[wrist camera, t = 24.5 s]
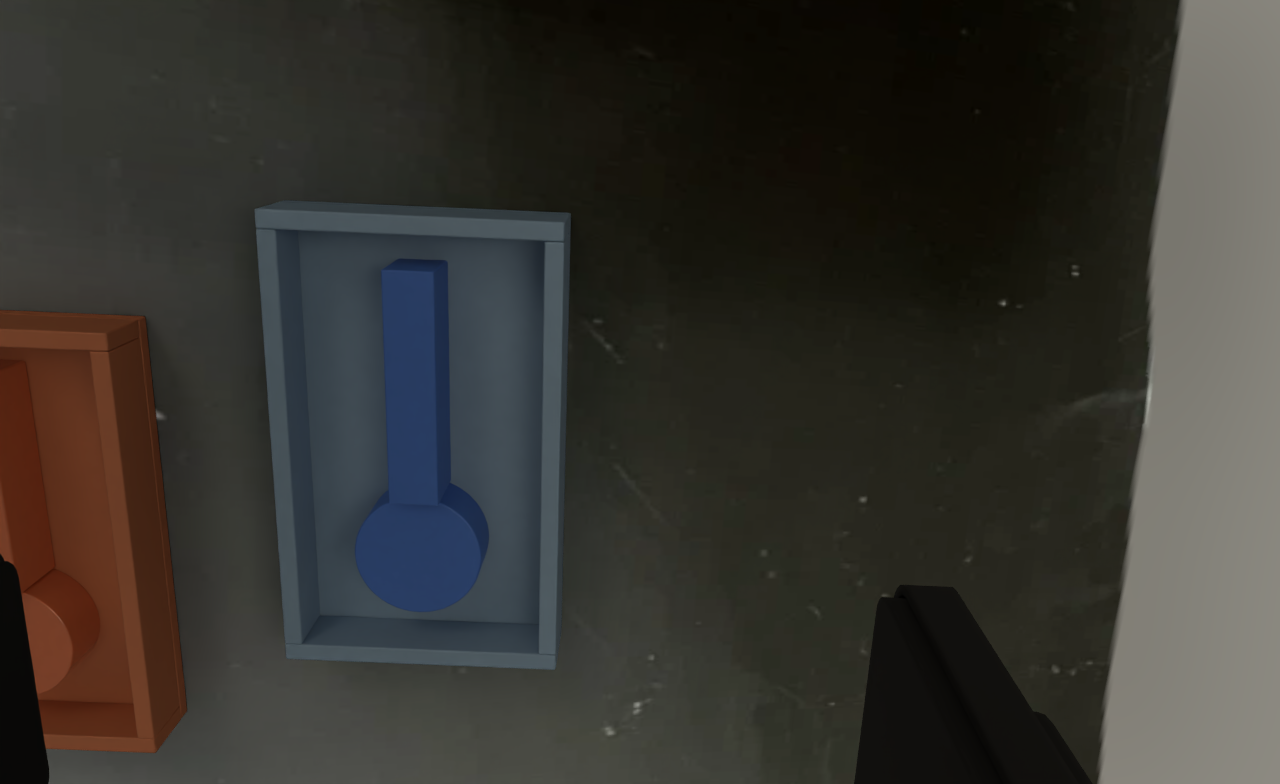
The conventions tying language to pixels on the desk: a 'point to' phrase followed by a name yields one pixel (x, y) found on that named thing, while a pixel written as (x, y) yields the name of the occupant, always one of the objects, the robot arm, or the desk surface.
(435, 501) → the blue spoon
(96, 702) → the terracotta tray
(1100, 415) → the desk surface
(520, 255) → the blue tray
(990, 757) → the robot arm
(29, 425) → the terracotta spoon
